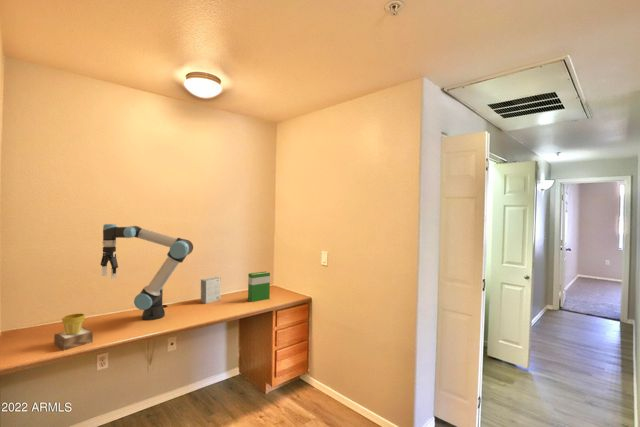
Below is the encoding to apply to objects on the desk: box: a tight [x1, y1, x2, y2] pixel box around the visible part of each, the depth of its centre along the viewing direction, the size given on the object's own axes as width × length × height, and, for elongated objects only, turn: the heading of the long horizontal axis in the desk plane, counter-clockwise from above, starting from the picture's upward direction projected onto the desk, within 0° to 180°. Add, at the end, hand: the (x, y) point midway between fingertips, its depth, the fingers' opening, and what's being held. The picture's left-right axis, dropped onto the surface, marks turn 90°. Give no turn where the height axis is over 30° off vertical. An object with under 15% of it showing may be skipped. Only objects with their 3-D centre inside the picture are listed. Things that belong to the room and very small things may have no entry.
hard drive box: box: [200, 276, 222, 305], centre depth 274 cm, size 16×8×20 cm, turn 144°
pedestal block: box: [53, 326, 94, 351], centre depth 184 cm, size 14×14×6 cm
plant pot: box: [61, 312, 86, 334], centre depth 184 cm, size 10×10×10 cm
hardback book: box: [247, 271, 271, 303], centre depth 281 cm, size 18×7×24 cm, turn 129°
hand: (108, 276), depth 215 cm, fingers open, 13 cm apart
